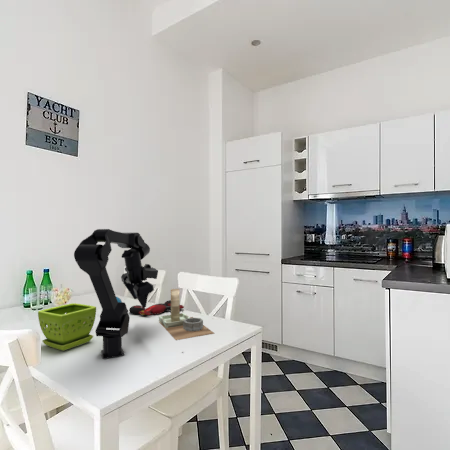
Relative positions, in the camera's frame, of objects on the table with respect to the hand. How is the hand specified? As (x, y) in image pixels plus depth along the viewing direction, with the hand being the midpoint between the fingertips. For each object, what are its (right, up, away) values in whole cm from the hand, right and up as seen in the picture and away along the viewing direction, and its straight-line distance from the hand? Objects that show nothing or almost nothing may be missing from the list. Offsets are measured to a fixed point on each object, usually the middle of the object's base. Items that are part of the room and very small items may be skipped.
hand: (140, 302), depth 120 cm
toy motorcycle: (+1, -12, +30) cm, 32 cm away
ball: (-20, -12, +28) cm, 37 cm away
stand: (+17, -11, +4) cm, 21 cm away
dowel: (+12, -10, +10) cm, 18 cm away
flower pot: (-22, -12, -11) cm, 28 cm away
